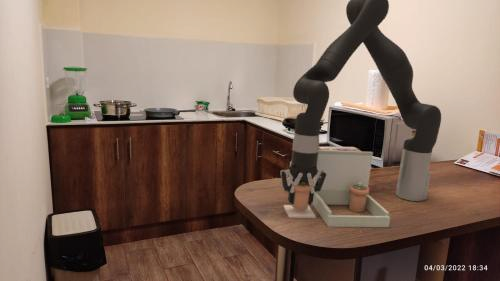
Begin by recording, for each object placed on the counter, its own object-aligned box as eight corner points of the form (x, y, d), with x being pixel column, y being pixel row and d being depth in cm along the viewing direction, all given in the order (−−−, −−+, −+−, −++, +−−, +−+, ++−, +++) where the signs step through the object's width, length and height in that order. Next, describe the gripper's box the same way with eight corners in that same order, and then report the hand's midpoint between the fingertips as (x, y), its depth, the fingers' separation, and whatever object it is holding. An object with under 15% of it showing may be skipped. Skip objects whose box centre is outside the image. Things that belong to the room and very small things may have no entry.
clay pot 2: (362, 206, 120) (365, 179, 118) (369, 213, 114) (373, 185, 112) (344, 205, 119) (348, 179, 117) (351, 212, 114) (354, 185, 112)
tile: (308, 207, 116) (308, 205, 116) (315, 218, 108) (315, 216, 108) (283, 206, 115) (283, 205, 115) (288, 217, 107) (289, 215, 107)
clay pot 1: (306, 202, 114) (309, 175, 112) (311, 210, 109) (314, 181, 107) (288, 202, 114) (291, 174, 112) (292, 210, 108) (295, 181, 106)
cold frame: (364, 203, 122) (371, 151, 118) (388, 227, 105) (398, 167, 101) (311, 202, 120) (317, 149, 116) (328, 226, 103) (335, 165, 99)
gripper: (325, 146, 112) (319, 199, 115) (278, 145, 110) (274, 198, 114) (333, 153, 104) (326, 209, 108) (283, 151, 103) (279, 208, 106)
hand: (300, 203), depth 111 cm, fingers closed on clay pot 1, 4 cm apart
